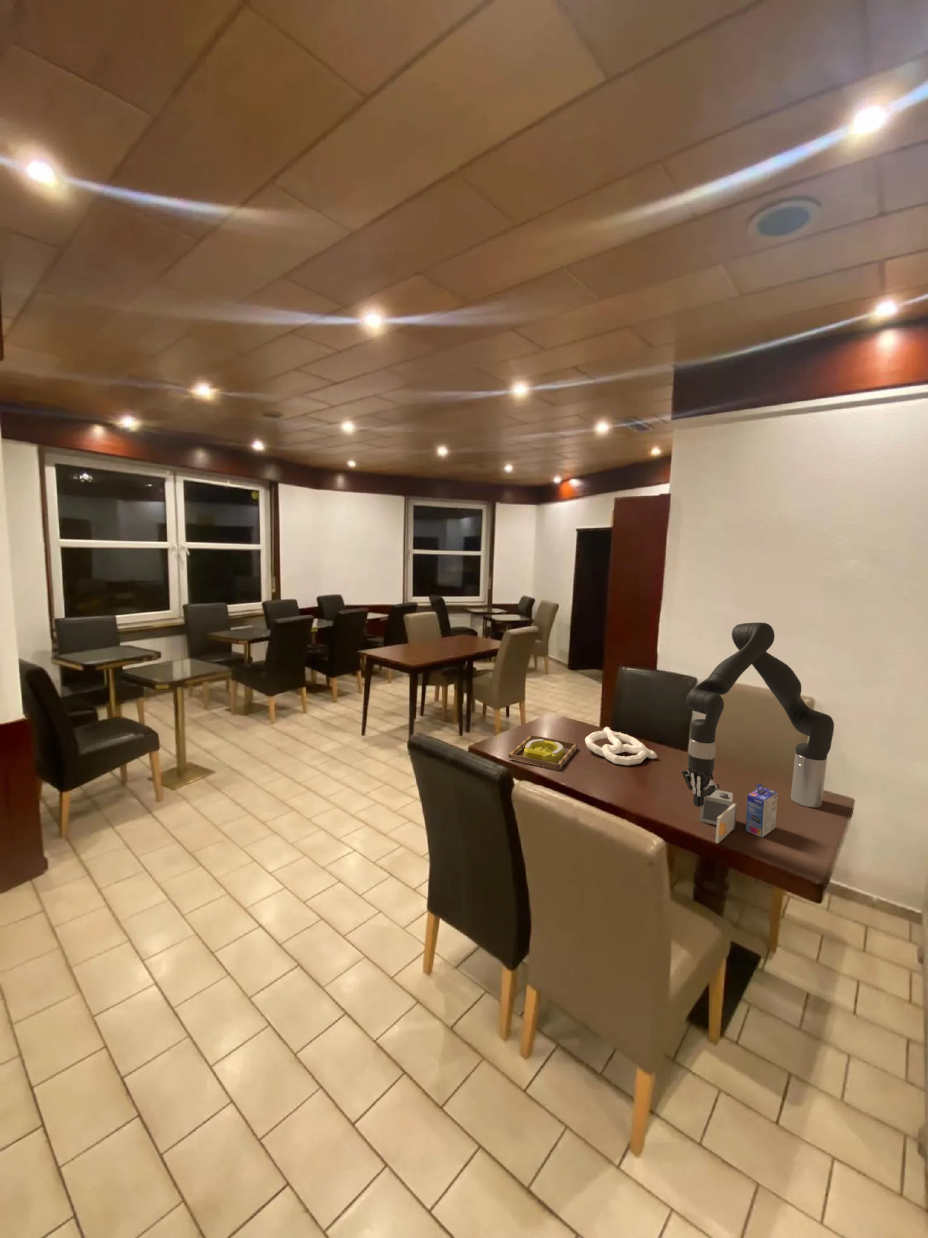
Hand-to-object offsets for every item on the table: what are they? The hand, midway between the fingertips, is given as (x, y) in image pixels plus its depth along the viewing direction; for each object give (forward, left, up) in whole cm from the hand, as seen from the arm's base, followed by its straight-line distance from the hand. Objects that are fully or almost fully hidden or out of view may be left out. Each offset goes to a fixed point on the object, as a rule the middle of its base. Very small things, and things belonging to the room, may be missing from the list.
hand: (698, 805), depth 161 cm
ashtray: (-32, -62, -8) cm, 71 cm away
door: (+1, +9, -7) cm, 11 cm away
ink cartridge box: (-10, +18, -8) cm, 22 cm away
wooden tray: (-34, -62, -8) cm, 72 cm away
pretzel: (-52, -34, -8) cm, 63 cm away
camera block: (-9, +5, -8) cm, 13 cm away
